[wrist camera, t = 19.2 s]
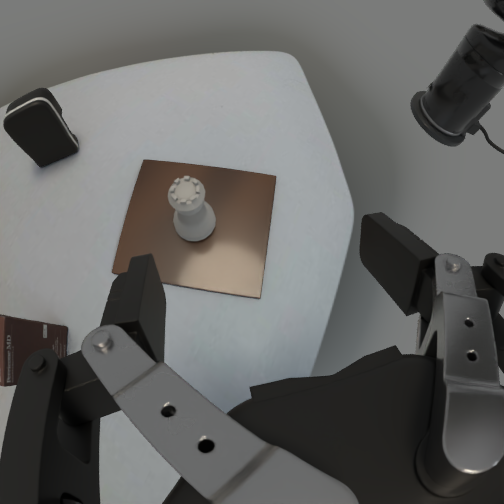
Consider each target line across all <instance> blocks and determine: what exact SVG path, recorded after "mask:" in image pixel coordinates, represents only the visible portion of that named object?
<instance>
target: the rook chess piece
mask: <svg viewBox="0 0 504 504" xmlns="http://www.w3.org/2000/svg"><path fill="white" fill-rule="evenodd" d="M204 198H205V189H204V186H203V184H202V183H201V182H200V181H199V180H197V179H195V178H190V176H184V178H182V179H179V178H177V179H176V180H175V181H174V183H173V184H172V186H171V187H170V189H169V192H168V200H169V203H170V204H171V205H172V207H173V208H175V210H176V211H175V213H174V219H173V222H174V226H175V229H176V232H177V233H178V234H179V235H180V236H181V237H182V238H184V239H186V240H188V241H199V240H202V239H205V238H206V237H207V236H209V235H210V234H211V233H212V231H213V229H214V227H215V222H216V217H215V214H214V212H213V209H212V207H211V206H210V205H209V204H208V203H207V202H205V201H204Z"/></svg>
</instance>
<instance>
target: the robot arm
mask: <svg viewBox="0 0 504 504" xmlns="http://www.w3.org/2000/svg"><path fill="white" fill-rule="evenodd" d="M483 1H484V3H485V4H486V5H487V7H489V9H490V10H491V11H492V12H493V13H494V14H495V15H497V16H498V17H499V18H500V19H502V20H503V21H504V0H483ZM430 85H431V86H430ZM430 85H429V86H430V87H429V89H428V90H427V91H426V93H425V94H424V95H423V96H422V97H421V99H420V101H419V106H420V110H421V112H422V114H423V116H424V117H425V119H426V120H427V121H428V122H429V123H430V125H431V126H433V127H434V128H435V129H436V130H437V131H439V132H440V133H442V134H444V135H446V136H448V137H457V136H462V137H463V136H464V135H465V134H466V132H468V133H470V134H472V135H474V134H475V133H476V132H477V131H478V130H479V129H480V130H481V131H482V132H483V133H484V135H485V138H486V140H487V142H488V143H489V144H490V145H491V146H492V147H493V148H495V149H496V150H498V151H499V152H501V153H503V154H504V150H502V149H501V148H499V147H498V146H496V145H495V144H494V143H493V142H492V141H491V140H490V139H489V137H488V134H487V132H486V130H485V129H484V128H483V127H482V126H481V125H480V123H479V121H478V120H479V119H480V118H481V117H482V116H483V115H484V114H485V113H486V112H487V111H488V110H489V109H490V107H491V105H490V103H489V102H490V101H491V100H492V99H493V98H494V97H495V96H496V95H497V94H498V92H499V91H500V90H501V89H502V88H503V87H504V33H501V32H498V31H495V30H493V29H490V28H488V27H486V26H483V25H480V24H474V25H472V26H471V27H470V29H469V30H468V32H467V33H466V35H465V36H464V38H463V39H462V41H461V42H460V44H459V45H458V47H457V48H456V50H455V51H454V53H453V54H452V56H451V57H450V59H449V60H448V61H447V63H446V64H445V66H444V67H443V69H442V70H441V72H440V73H439V74H438V76H437V77H436V79H435V80H434V81H433V82H432V83H431V84H430ZM360 258H361V261H362V263H363V265H364V266H365V267H366V268H367V269H368V271H369V272H370V273H371V274H372V275H373V276H374V278H375V279H376V280H377V281H378V282H379V284H380V285H381V286H382V287H383V288H384V289H385V291H386V292H387V293H388V294H389V295H390V297H391V298H392V299H393V300H394V301H395V303H396V304H397V305H398V306H399V308H400V309H401V310H402V311H403V312H404V314H405V315H406V316H409V315H411V314H414V313H417V312H419V313H420V316H419V320H418V328H417V340H416V351H415V354H408V355H407V354H406V355H405V354H404V355H402V354H401V353H400V351H399V350H398V348H397V347H396V346H392V347H389V348H386V349H384V350H381V351H378V352H375V353H372V354H370V355H366V356H364V357H362V358H361V359H359V360H357V361H356V362H354V363H352V364H351V365H349V366H348V367H346V368H344V369H342V370H341V371H339V372H337V373H336V374H334V375H330V376H319V377H301V378H287V379H283V380H279V381H275V382H270V383H266V384H261V385H257V386H252V387H250V391H251V396H252V398H251V399H249V400H246V401H244V402H243V403H241V404H239V405H238V406H236V407H234V408H233V409H232V410H230V411H229V412H228V413H227V414H226V413H224V412H223V411H222V410H220V409H219V408H218V407H217V406H215V405H214V404H213V403H212V402H210V401H209V400H208V399H207V398H205V397H204V396H203V395H202V394H200V393H199V392H198V391H197V390H196V389H194V388H193V387H192V386H191V385H190V384H189V383H187V382H186V381H185V380H184V379H183V378H182V377H180V376H179V375H178V374H177V373H176V372H175V371H174V370H172V369H171V368H170V367H169V366H168V365H167V364H166V363H164V344H165V318H166V297H165V292H164V288H163V285H162V282H161V279H160V276H159V273H158V270H157V267H156V263H155V260H154V257H153V255H152V254H151V253H150V254H145V255H139V256H134V257H131V260H130V263H129V267H128V270H127V272H123V273H120V274H119V275H118V277H117V278H116V279H115V280H114V281H113V283H112V286H111V289H110V294H109V296H108V299H107V300H108V302H107V303H106V306H105V310H104V313H103V317H102V320H101V324H100V327H98V328H96V329H94V330H93V331H91V332H90V333H89V334H88V335H87V336H86V337H85V339H84V340H83V343H82V346H81V350H80V351H78V352H76V353H73V354H71V355H68V356H65V357H63V358H59V356H58V355H57V354H56V352H55V351H54V350H52V349H48V348H45V349H40V350H38V351H36V352H34V353H33V354H31V355H30V356H29V357H28V358H27V359H26V361H25V362H24V364H23V366H22V369H21V373H20V376H19V379H18V382H17V386H16V389H15V393H14V397H13V400H12V404H11V408H10V412H9V417H8V421H7V426H6V430H5V435H4V441H3V446H2V452H1V458H0V504H100V488H99V435H100V418H101V417H104V416H106V415H109V414H112V413H114V412H117V411H120V410H122V411H123V412H124V413H125V414H126V416H127V417H128V418H129V419H130V421H131V422H132V423H133V424H134V425H135V427H136V428H137V429H138V430H139V431H140V433H141V434H142V435H143V436H144V437H145V438H146V439H147V441H148V442H149V443H150V444H151V445H152V446H153V447H154V448H155V449H156V450H157V452H158V453H159V454H160V455H161V456H162V457H163V458H164V459H165V460H166V461H167V462H168V463H169V464H170V465H171V466H172V467H173V468H174V469H175V470H176V471H177V472H178V473H179V474H180V475H181V477H180V479H179V480H178V482H177V483H176V485H175V486H174V488H173V489H172V490H171V492H170V493H169V495H168V496H167V497H166V499H165V500H164V502H163V503H162V504H504V386H502V385H500V381H499V369H498V366H499V367H500V369H501V370H502V372H503V373H504V319H503V318H502V316H501V315H500V314H499V310H500V308H501V306H502V304H503V301H504V255H501V254H497V253H489V254H487V255H486V256H485V259H484V263H483V266H472V267H471V266H470V264H469V263H468V262H467V261H466V260H465V259H464V258H462V257H460V256H457V255H454V254H449V253H447V254H446V253H445V254H438V253H437V252H436V251H435V250H433V249H432V248H431V247H430V246H429V245H427V244H426V243H425V242H424V241H423V240H420V238H419V237H418V236H416V235H414V233H412V232H411V231H410V230H409V229H407V228H406V227H404V226H402V225H400V224H398V223H395V222H394V221H393V220H392V219H390V218H389V217H388V216H386V215H385V214H384V213H382V212H380V213H374V214H368V215H364V216H363V218H362V223H361V238H360Z"/></svg>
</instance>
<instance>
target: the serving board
mask: <svg viewBox="0 0 504 504" xmlns="http://www.w3.org/2000/svg"><path fill="white" fill-rule="evenodd" d="M184 176H190V178H195V179H197V180H199V181H200V182H201V183H202V184H203V186H204V189H205V198H204V201H205V202H207V203H208V204H209V205H210V206H211V207H212V209H213V212H214V214H215V217H216V222H215V227H214V229H213V231H212V233H211V234H210V235H209V236H207V237H206V238H205V239H202V240H199V241H188V240H186V239H184V238H182V237H181V236H180V235H179V234H178V233H177V232H176V229H175V226H174V222H173V219H174V213H175V211H176V210H175V208H173V207H172V205H171V204H170V203H169V200H168V192H169V189H170V187H171V186H172V184H173V183H174V181H175V180H176V179H177V178H179V179H182V178H184ZM275 184H276V176H273V175H267V174H261V173H254V172H248V171H241V170H234V169H227V168H219V167H211V166H203V165H195V164H186V163H176V162H166V161H156V160H143V163H142V166H141V169H140V172H139V175H138V178H137V181H136V184H135V187H134V191H133V194H132V197H131V200H130V204H129V207H128V211H127V214H126V218H125V221H124V225H123V229H122V232H121V236H120V240H119V244H118V248H117V252H116V256H115V261H114V265H113V269H112V273H113V274H118V275H119V274H120V273H123V272H127V270H128V267H129V263H130V260H131V257H134V256H139V255H145V254H150V253H151V254H152V255H153V257H154V260H155V263H156V267H157V270H158V273H159V276H160V279H161V282H162V283H165V284H171V285H177V286H182V287H188V288H194V289H200V290H206V291H212V292H218V293H224V294H231V295H237V296H244V297H251V298H257V299H260V297H261V290H262V282H263V275H264V268H265V260H266V253H267V245H268V238H269V230H270V223H271V215H272V207H273V199H274V191H275Z"/></svg>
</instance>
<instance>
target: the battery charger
mask: <svg viewBox="0 0 504 504" xmlns="http://www.w3.org/2000/svg"><path fill="white" fill-rule="evenodd" d="M3 125H4V129H5V130H6V132H7V133H8V134H9V136H10V137H11V138H12V139H13V140H14V141H15V142H16V143H17V145H18V146H19V147H20V148H21V149H23V150H24V151H25V152H26V153H27V154H28V155H29V156H30V157H31V158H32V159H33V160H34V161H35V162H36V163H37V165H38V166H39V167H43V166H45V165H48V164H50V163H52V162H55V161H57V160H60V159H62V158H64V157H66V156H69V155H71V154H73V153H75V152H77V151H78V148H79V146H78V140H77V138H76V136H75V135H73V134H72V133H71V131H70V130H69V128H68V126H67V124H66V123H65V121H64V119H63V117H62V109H61V107H60V105H59V104H58V102H57V101H56V99H55V98H54V96H53V95H52V93H51V92H50V91H49V90H48V89H46V88H39V89H36V90H34V91H32V92H30V93H28V94H26V95H24V96H22V97H20V98H19V99H17V100H15V101H14V102H12V103H11V104H10V105H9V106H8V108H7V112H6V115H5V117H4V120H3Z"/></svg>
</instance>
